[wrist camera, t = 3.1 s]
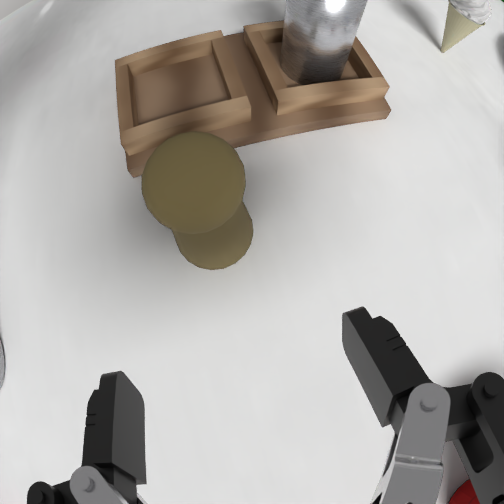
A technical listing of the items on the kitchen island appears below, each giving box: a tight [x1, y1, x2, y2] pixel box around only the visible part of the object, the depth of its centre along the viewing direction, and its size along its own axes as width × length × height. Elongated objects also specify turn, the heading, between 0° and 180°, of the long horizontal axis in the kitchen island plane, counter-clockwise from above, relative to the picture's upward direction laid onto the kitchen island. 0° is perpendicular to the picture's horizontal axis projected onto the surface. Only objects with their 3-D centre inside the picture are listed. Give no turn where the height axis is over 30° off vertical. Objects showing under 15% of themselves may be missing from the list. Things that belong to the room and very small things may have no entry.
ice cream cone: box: [441, 0, 491, 53], centre depth 22 cm, size 5×5×15 cm
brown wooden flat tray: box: [115, 20, 391, 178], centre depth 26 cm, size 24×13×4 cm, turn 106°
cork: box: [142, 131, 253, 270], centre depth 19 cm, size 6×6×11 cm
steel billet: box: [280, 0, 367, 85], centre depth 21 cm, size 6×6×11 cm
